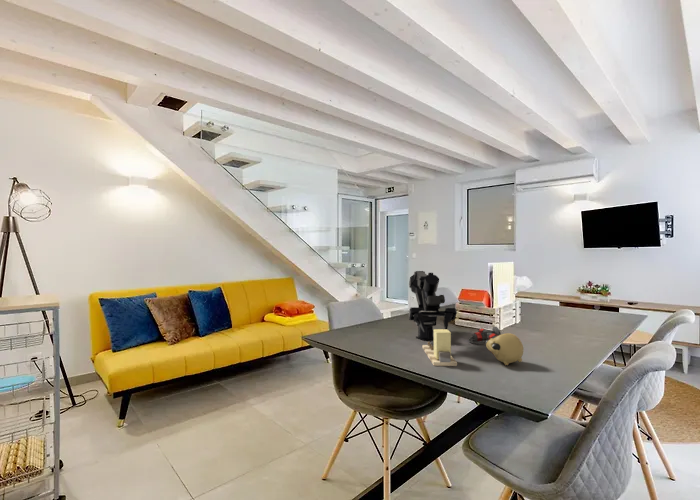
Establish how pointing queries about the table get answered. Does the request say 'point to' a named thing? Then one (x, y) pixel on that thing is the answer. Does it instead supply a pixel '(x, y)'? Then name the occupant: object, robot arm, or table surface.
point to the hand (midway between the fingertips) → (435, 331)
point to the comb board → (435, 361)
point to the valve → (484, 335)
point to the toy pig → (506, 348)
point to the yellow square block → (441, 341)
